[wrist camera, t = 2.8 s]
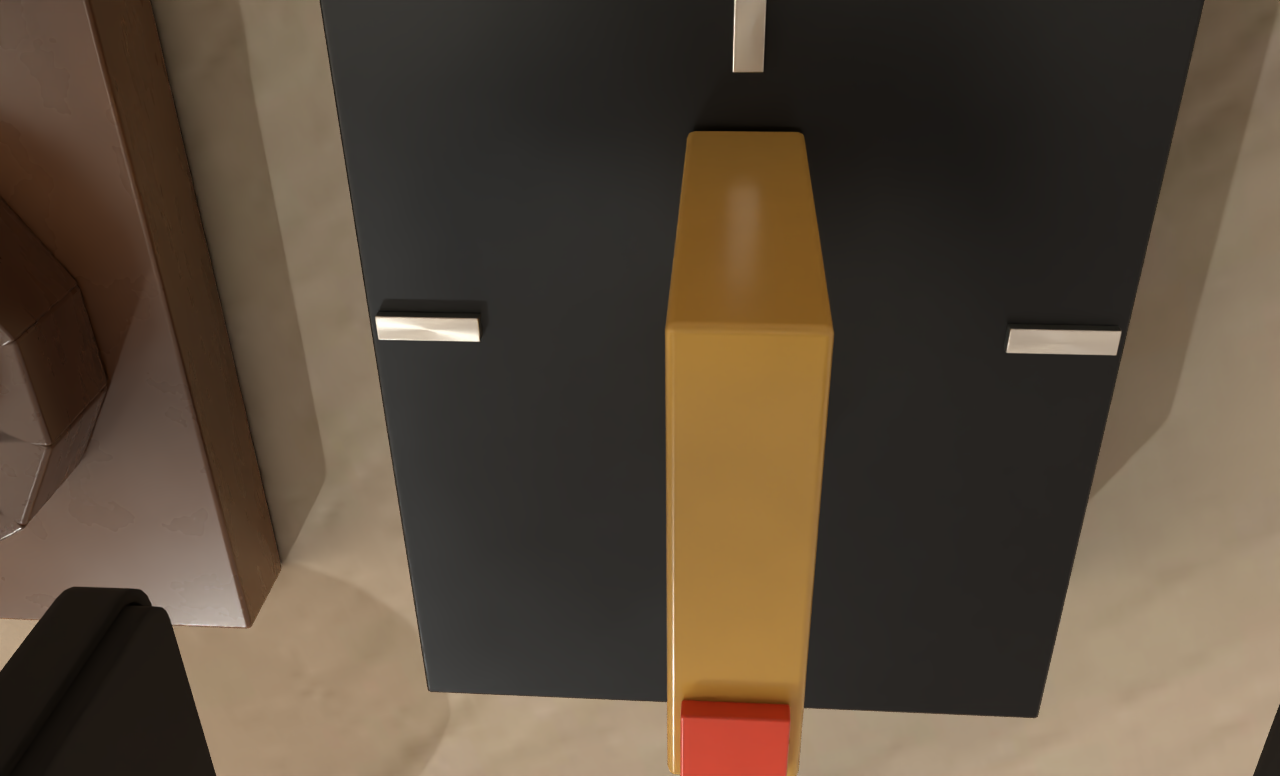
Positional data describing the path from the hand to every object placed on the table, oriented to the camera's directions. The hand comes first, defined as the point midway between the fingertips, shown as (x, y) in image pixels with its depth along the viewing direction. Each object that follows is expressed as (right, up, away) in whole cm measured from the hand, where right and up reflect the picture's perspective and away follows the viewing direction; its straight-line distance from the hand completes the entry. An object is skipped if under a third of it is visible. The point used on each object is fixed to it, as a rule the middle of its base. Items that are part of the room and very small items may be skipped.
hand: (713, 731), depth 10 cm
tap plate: (+1, +5, +8) cm, 10 cm away
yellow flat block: (+1, +4, +5) cm, 6 cm away
